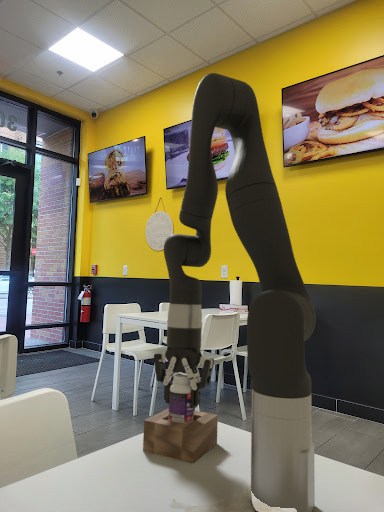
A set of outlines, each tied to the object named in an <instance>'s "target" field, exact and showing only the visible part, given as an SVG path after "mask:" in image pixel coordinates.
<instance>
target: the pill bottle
mask: <svg viewBox="0 0 384 512" xmlns="http://www.w3.org/2000/svg"><path fill="white" fill-rule="evenodd" d="M173 380H174V381H173V383H172V384H173V385H171V387H170V395H169V404H168V408H169V415H168V420H169V421H173V422H178V423H183V424H188V425H189V424H190V423H192V422H193V418H194V411H195V408H191V390H192V386H191V383H190V380H189V379H188V378H187V374H184V373H181V372H179V373H178V374H174V378H173Z"/></svg>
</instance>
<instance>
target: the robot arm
mask: <svg viewBox="0 0 384 512" xmlns="http://www.w3.org/2000/svg"><path fill="white" fill-rule="evenodd" d="M194 93H195V94H194V98H193V103H192V110H191V111H192V113H191V124H190V137H189V153H188V167H187V168H188V169H187V176H186V182H185V183H186V184H185V189H184V193H183V197H182V201H181V206H180V211H179V215H178V218H179V222H180V223H181V224H182V225H183V226H185V227H187V228H189V229H192V230H195V232H196V233H195V235H190V234H180V233H172V234H170V235H168V237H167V238H166V239H165V241H164V244H163V255H164V257H163V258H164V261H165V264H166V269H167V275H168V278H169V306H168V312H167V321H166V323H167V325H166V328H167V329H166V347H167V348H166V351H165V352H157V353H155V354H153V361H154V369H155V379H156V381H157V382H160V383H162V384H163V386H164V387H163V388H164V389H163V390H164V391H163V399H164V401H165V404H168V405H169V395H170V387H171V385H173V384H174V382H173V381H174V380H173V378H174V374H178V373H184V374H187V378H188V379H189V380H190V383H191V386H192V390H191V408H194V409H196V408H198V406H199V405H200V403H201V398H202V397H201V393H202V389H204V388H207V387H209V385H210V384H211V378H212V373H213V369H214V364H215V359H214V358H212V357H211V358H208V357H204V356H203V355H202V352H201V348H202V331H203V330H202V324H203V323H202V322H203V317H202V316H203V313H202V311H203V310H202V296H203V295H202V290H203V289H202V288H203V287H202V286H203V285H202V281H201V279H199V278H196V277H193V276H190V275H188V274H186V273H185V271H184V269H183V267H190V268H191V267H192V268H202V267H205V265H206V264H208V262H209V261H210V259H211V256H212V241H211V239H212V238H211V230H212V229H211V228H212V219H213V216H214V212H215V207H216V204H217V199H218V195H219V184H218V183H219V182H218V178H217V174H216V170H215V166H214V162H213V161H214V160H213V154H212V142H213V141H212V140H213V135H214V132H215V128H217V129H222V130H227V132H228V133H229V135H230V137H231V141H232V145H233V150H234V158H233V162H232V165H231V167H230V169H229V170H230V171H229V174H228V176H227V179H226V183H225V188H224V189H225V198H226V199H225V200H226V202H227V203H226V204H227V207H228V211H229V215H230V220H231V222H232V223H231V224H232V226H233V229H234V231H235V233H236V235H237V237H238V239H239V240H240V243H241V245H242V246H243V248H244V249H245V251H246V253H247V255H248V256H249V258H250V260H251V262H252V264H253V266H254V269H255V271H256V274H257V277H258V282H259V286H260V291H261V292H260V293H259V294H257V296H255V297H254V298H253V300H252V301H251V303H250V305H249V308H248V312H247V318H246V320H247V321H246V347H247V350H246V353H247V354H246V355H247V369H248V372H249V375H250V377H251V428H250V429H251V432H250V433H251V434H250V436H251V438H250V441H251V442H250V443H251V444H250V446H251V447H250V488H251V491H252V493H253V494H254V496H255V497H256V498H257V499H259V500H260V501H261V502H263V503H265V504H267V505H268V506H270V507H280V508H295V509H296V510H297V512H313V511H314V509H315V508H314V507H315V503H316V501H315V481H316V480H315V441H314V440H313V439H312V437H313V436H312V430H313V429H312V426H313V425H312V424H313V422H312V420H313V419H312V377H311V375H310V374H309V372H308V371H307V366H306V358H305V357H306V353H305V351H306V350H305V342H306V341H307V340H308V339H310V337H311V336H312V334H313V332H314V330H315V326H316V321H317V317H316V311H315V308H314V305H313V303H312V300H311V297H310V295H309V293H308V292H309V291H308V290H307V288H306V285H305V283H304V281H303V278H302V275H301V273H300V269H299V268H298V265H297V261H296V258H295V254H294V250H293V247H292V246H293V245H292V242H291V237H290V232H289V229H288V224H287V220H286V217H285V214H284V211H283V209H284V208H283V206H282V202H281V197H280V194H279V189H278V186H277V184H276V180H275V178H274V174H273V172H272V167H271V164H270V163H271V162H270V160H269V155H268V151H267V148H266V147H267V146H266V145H265V140H264V133H263V129H262V122H261V117H260V111H259V105H258V101H257V96H256V94H255V91H254V89H253V88H252V86H251V85H249V84H248V83H247V82H245V81H242V80H240V79H237V78H234V77H230V76H227V75H223V74H220V73H218V72H217V73H216V72H211V73H208V74H206V75H204V76H203V77H202V79H201V80H200V81H199V83H198V85H197V88H196V91H195V92H194ZM166 361H167V362H168V364H169V365H168V368H167V369H166ZM200 364H201V366H200V367H201V368H202V372H201V375H200V371H199V368H198V365H200ZM200 376H201V377H200ZM251 491H250V492H251Z"/></svg>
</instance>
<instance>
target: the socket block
mask: <svg viewBox="0 0 384 512" xmlns="http://www.w3.org/2000/svg"><path fill="white" fill-rule="evenodd" d="M168 415H169V407H168V408H166V409H164V410H162V411H160V412H159V413H156V414H154V415H152V416H150V417H148V418H145V419H144V421H143V437H142V438H143V439H142V440H143V441H142V451H143V452H146V453H150V454H155V455H158V456H162V457H166V458H170V459H172V460H178V461H182V462H185V463H188V464H195V463H196V462H198V461H199V460H200V459H201V458H202V457H204V455H206V453H208V452H209V451H210V450H212V448H214V447H215V446H216V445H217V444H218V421H219V419H218V416H219V415H218V414H215V413H208V412H204V411H198V410H194V418H193V422H192V423H190V424H189V425H188V424H183V423H178V422H173V421H169V420H168Z"/></svg>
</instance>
